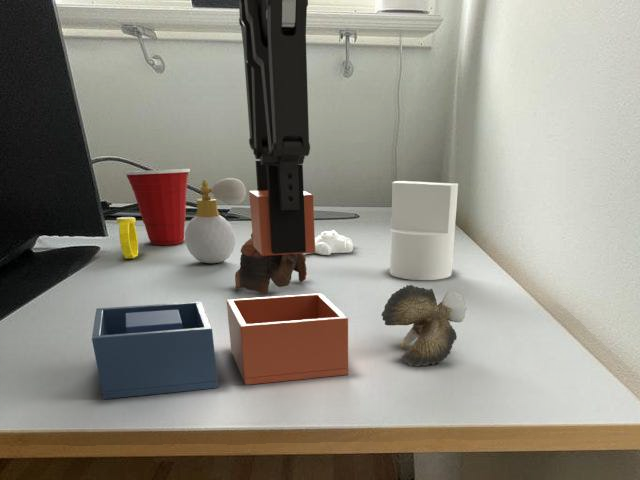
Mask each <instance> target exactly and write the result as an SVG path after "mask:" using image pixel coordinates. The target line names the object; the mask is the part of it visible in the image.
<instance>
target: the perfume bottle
mask: <svg viewBox="0 0 640 480" xmlns="http://www.w3.org/2000/svg"><path fill="white" fill-rule="evenodd" d="M201 185H202V186H201V187H200V193H201V194H202V196H201V198H198V199H196V200H195V201H196V207H197V208H196V215H195V216H194V217H192V218H191V219H190V221H189V222H188V224H187V225H186V227H185V231H184V241H185V246H186V248H187V250H188V252H189V253H190V255H191V256H192V257H193V258H194V259H195V260H197V261H199V262H201V263H203V264H217V263H223V262H224V261H226V260H227V259H229V258H230V257H231V255H232V254H233V252H234V249H235V246H236V236H235V231H234V229H233V227H232V225H231V223H230V222H229V221H228V220H227V219H226V218H225V217H224V216H222V215H220V212H219V210H218V201H217V200H219V201H220V202H222V203H224V204H228V205H237V204H241V203H242V202H244V201H245V200H244V199H246V195H247V188H246V186H245V184H244V183H243V181H241V180H240V179H238V178H234V177H227V178H222V179H219V180H218V181H217V182H216V183H214V184H213V185H212V187H211V188H210V187H209V186H208V185H209V184H208V182H207V180H206V179H203V181H202V183H201ZM210 193H211V194H212V195H213V196H214V198H211V195H210Z"/></svg>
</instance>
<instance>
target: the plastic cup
mask: <svg viewBox="0 0 640 480" xmlns="http://www.w3.org/2000/svg"><path fill="white" fill-rule="evenodd" d="M190 171H191V169H190V168H176V169H173V168H172V169H156V170H135V171H124V172H123V174H124V176H126V178H127V180H128V182H129V184H130V187H131V189H132V191H133V194H134V197H135V200H136V204H137V206H138V209H139V213H140V216H141V219H142V220H141V221H142V223H143V224H144V228H145V231H146V234H147V237H148V240H149V242H150V244H151V245H155V246H174V245H179V244H182V243H184V241H185V231H186V227H185V224H186V215H187V213H186V211H187V189H188V178H189V173H190Z"/></svg>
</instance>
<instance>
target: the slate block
mask: <svg viewBox="0 0 640 480" xmlns="http://www.w3.org/2000/svg"><path fill="white" fill-rule="evenodd" d="M125 318H126V333H140V332H153V331H165V330H178V329H183V326H182V321H181V317H180V314H179V310H163V311H149V312H135V313H126V314H125Z"/></svg>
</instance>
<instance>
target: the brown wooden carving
mask: <svg viewBox="0 0 640 480" xmlns="http://www.w3.org/2000/svg"><path fill="white" fill-rule="evenodd" d="M240 253H241V254H240V258H239V260H240V261H239V269H238V270H236V272H235V274H234V282H235V283H234V285H235V286H234V289H237V290H238V289H246V290H248V291H254V292H258V293H263V294H266V295H267V294H268V293H269V285H270V282H271V281H272V282H273V284H274V285H275V286H277V287H278V288H283V287H287V286H289V285H290V283H291V280H292V275H293V272H294V271H295V272H297V273H298V281H299V283H302V282H304V281H305V280H306V279H307V274H308V273H307V270H308V269H307V264H306V262H307V261H306V260H307V258H306V256H305V255H304V253H302V254H285V255H268V256H262V255H261V254H260V253H259V252H258V251H257V250H256V248H255V247H254V246H253V235H252V233H251V234H250V238H249V239H248V240H246V241H245V242H244V244H242V246H241V248H240Z"/></svg>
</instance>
